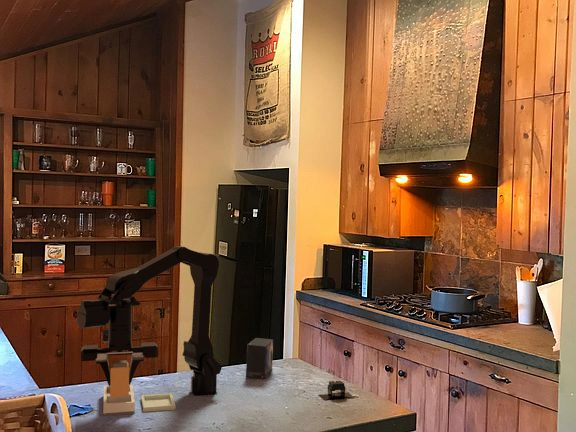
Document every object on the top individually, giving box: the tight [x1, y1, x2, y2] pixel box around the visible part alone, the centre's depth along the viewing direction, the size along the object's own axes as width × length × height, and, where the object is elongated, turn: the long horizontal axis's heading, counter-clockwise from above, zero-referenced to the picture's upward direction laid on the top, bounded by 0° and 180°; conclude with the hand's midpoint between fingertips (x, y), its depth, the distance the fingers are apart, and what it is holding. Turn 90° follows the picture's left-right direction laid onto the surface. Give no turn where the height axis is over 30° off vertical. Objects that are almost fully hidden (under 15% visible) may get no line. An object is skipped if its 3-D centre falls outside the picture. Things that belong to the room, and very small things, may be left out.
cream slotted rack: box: [102, 383, 136, 417], centre depth 159 cm, size 8×16×6 cm, turn 17°
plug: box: [109, 359, 130, 397], centre depth 155 cm, size 4×4×8 cm
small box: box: [245, 337, 274, 380], centre depth 193 cm, size 11×6×10 cm, turn 168°
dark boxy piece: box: [317, 380, 356, 401], centre depth 172 cm, size 12×7×5 cm, turn 107°
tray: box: [140, 393, 177, 413], centre depth 160 cm, size 8×10×2 cm
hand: (119, 384), depth 155 cm, fingers closed on plug, 4 cm apart
